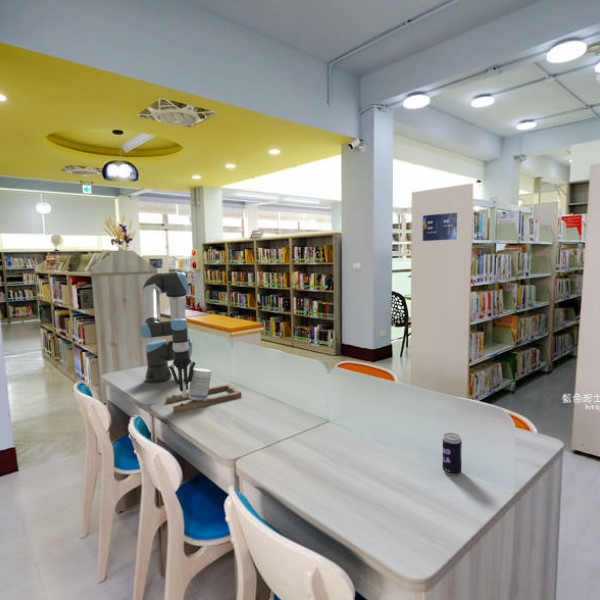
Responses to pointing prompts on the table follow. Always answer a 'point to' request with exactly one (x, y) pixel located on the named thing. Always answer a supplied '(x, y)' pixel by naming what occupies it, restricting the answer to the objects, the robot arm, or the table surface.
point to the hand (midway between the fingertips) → (184, 396)
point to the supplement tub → (199, 384)
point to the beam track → (205, 401)
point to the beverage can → (452, 453)
